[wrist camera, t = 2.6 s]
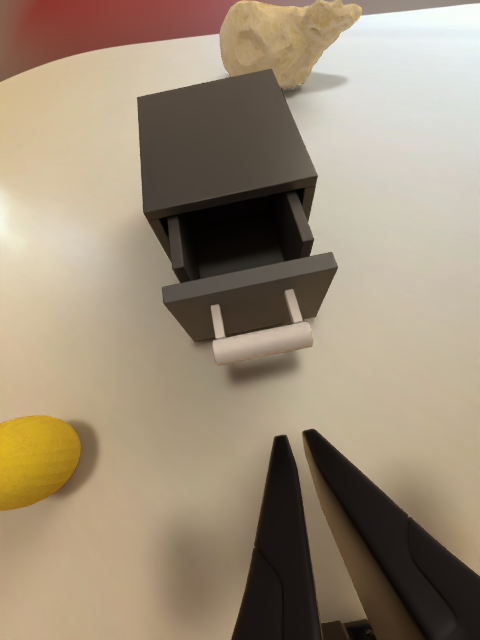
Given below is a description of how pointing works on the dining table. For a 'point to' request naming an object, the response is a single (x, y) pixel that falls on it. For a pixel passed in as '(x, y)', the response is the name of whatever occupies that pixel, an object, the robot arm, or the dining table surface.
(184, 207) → the dark drawer box
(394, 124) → the dining table surface
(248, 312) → the dark grey drawer
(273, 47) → the beige rock
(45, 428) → the lemon
